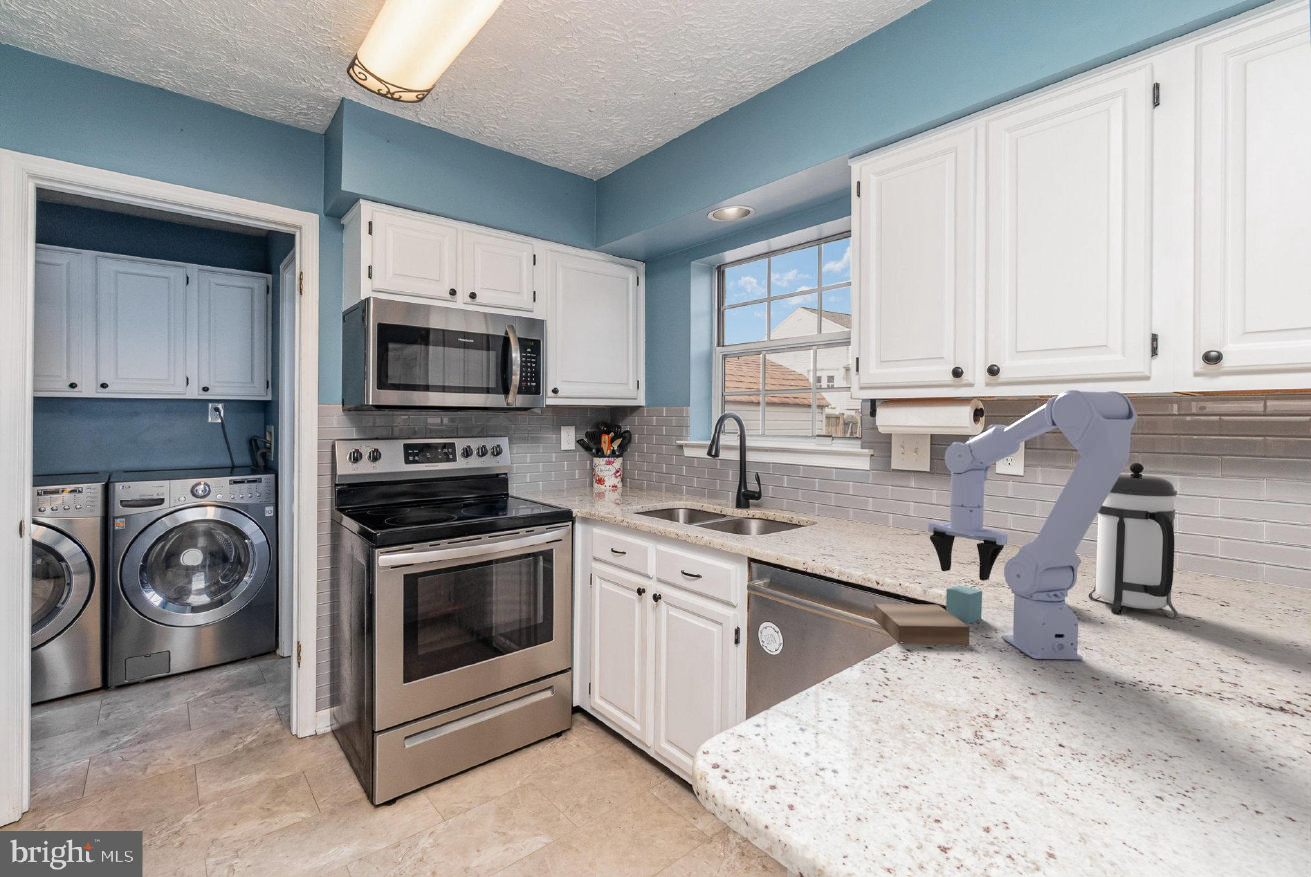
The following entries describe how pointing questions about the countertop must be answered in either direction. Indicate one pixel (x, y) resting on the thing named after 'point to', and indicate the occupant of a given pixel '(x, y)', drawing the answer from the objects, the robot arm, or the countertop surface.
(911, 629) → the walnut box
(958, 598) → the teal block
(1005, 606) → the countertop surface
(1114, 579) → the coffee press
